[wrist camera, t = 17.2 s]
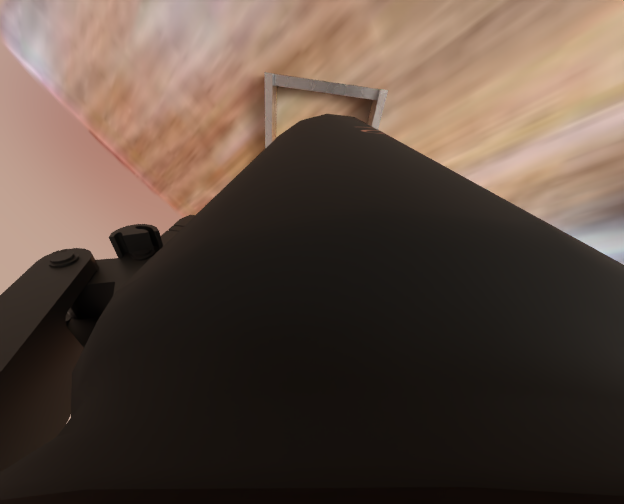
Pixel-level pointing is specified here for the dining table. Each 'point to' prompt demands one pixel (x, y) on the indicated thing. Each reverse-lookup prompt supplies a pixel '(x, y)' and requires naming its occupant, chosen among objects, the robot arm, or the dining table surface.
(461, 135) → the dining table surface
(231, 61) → the dining table surface
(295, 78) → the open-ended rimmed tray
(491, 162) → the dining table surface
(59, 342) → the robot arm
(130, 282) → the coffee jar
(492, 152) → the dining table surface
